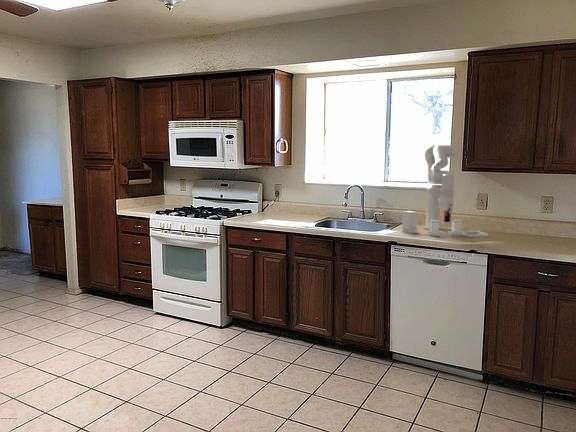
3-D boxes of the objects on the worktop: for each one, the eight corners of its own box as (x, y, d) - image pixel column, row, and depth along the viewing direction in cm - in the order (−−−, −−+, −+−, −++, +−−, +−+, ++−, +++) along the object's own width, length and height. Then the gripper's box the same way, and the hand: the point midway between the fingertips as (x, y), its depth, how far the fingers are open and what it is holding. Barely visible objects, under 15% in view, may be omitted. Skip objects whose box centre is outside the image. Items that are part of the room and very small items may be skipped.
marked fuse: (440, 222, 305) (441, 207, 304) (447, 222, 306) (448, 207, 305) (443, 224, 302) (444, 208, 300) (450, 223, 302) (451, 208, 301)
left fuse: (428, 235, 305) (429, 220, 303) (435, 234, 306) (436, 219, 304) (431, 236, 301) (432, 221, 299) (438, 236, 302) (439, 220, 300)
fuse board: (424, 236, 308) (424, 230, 307) (457, 235, 312) (458, 229, 311) (431, 239, 298) (431, 233, 297) (465, 238, 302) (466, 232, 301)
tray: (457, 235, 314) (458, 230, 313) (476, 234, 316) (476, 230, 315) (468, 239, 300) (469, 234, 300) (488, 238, 303) (488, 234, 302)
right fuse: (451, 234, 307) (452, 219, 306) (458, 234, 308) (459, 219, 307) (454, 235, 303) (455, 220, 302) (461, 235, 304) (462, 220, 303)
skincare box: (417, 234, 314) (418, 211, 312) (410, 235, 311) (411, 212, 309) (408, 232, 322) (409, 210, 319) (401, 233, 318) (402, 210, 316)
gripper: (435, 191, 308) (434, 218, 311) (448, 194, 292) (446, 223, 295) (446, 191, 309) (444, 218, 312) (459, 194, 293) (457, 223, 296)
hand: (445, 220), depth 304 cm, fingers closed on marked fuse, 4 cm apart
